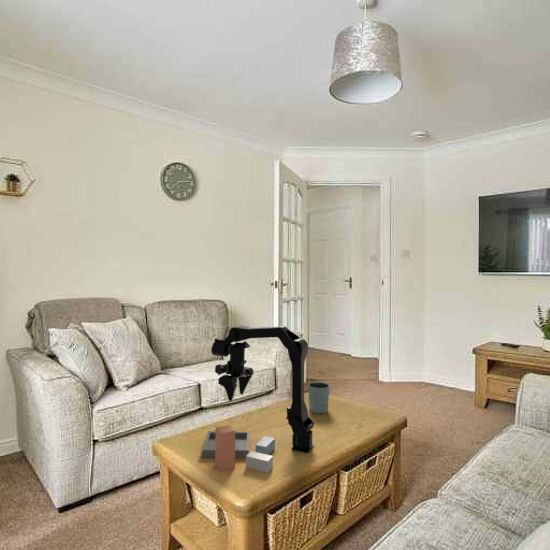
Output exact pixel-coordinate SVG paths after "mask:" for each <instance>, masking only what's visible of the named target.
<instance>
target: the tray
mask: <svg viewBox="0 0 550 550" xmlns="http://www.w3.org/2000/svg"><path fill="white" fill-rule="evenodd" d="M250 434H251V432H250V431H240V430H238V431H236V430H235V459H236V458H238V459H239V458H241V459H246V456H247V455H248V454H249V453H250V442H251V441H250V438H251V436H250ZM215 437H216V430H215V431H212V430H211V431H210V430H209V431H207V435H206V437H205V440H204V443H203V447H202V450H201V456H202V457H208V459H209V458H214V459H215ZM202 457H201V458H202Z"/></svg>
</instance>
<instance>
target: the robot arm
mask: <svg viewBox="0 0 550 550" xmlns="http://www.w3.org/2000/svg"><path fill="white" fill-rule="evenodd" d="M262 338H263V339H265V338H266V339H267V338H278V339H279V341H280V342H281V344H282V345H283V347H285V349H286V350H287V354H288V358H289V361H290V363H291V404H290V405H288V407H286V418H285V419H286V420H287V423H288V425H289V426H290V427H291V430H292V433H293V434H292V436H291V437H292V439H291V440H292V444H291V445H292V447H291V450H293V451H298V452H302V453H303V452H304V453H309V452H310V451H311V450H312V449H313V448H314V443H313V430H312V429H313V428H314V425H315V422H314V421H313V420H312V419H311V417H310V415H309V411H308V406H307V404H306V402H305V362H306V359H307V356H308V350H309V345H308V344H309V343H308V342H307V340H305V339H304V338H302V337H300V336H298V335H297V334H296V333H295V332H293V331H291V330H290V329H289V328H288V327H287V326H286V325H281V326H265V327H251V326H247V325H246V326H245V325H237V326H234V327H231V328H229V330H228V333H227V336H226V337H225V338H224V339H222V338H219V337H217V338H214V342H213V344H212V345H211V347H210V348H211V351H210V352H211V354H212V355H213V356H217V357H218V356H219V357H224V358H225V357H229V360H227V362H226V363H225V364H221V363H220V364H216V365H215V367H214V372H215V373H216V374H217V376H220V375H221V376H220V377H218V381H217V383H218V385H220V386H221V387H223V388H224V390H225V393H226V396H227V399H228V401H229V402H232V401H233V399H234V396H235V392H236V390H237V386H238V388H239V394H240V395H244V393H245V390H246V388H247V386H248V384H249V382H250V381H251V379H252V378H253V376H254V369H253V368H252V367H249V366H248V367H247V366H245V364H246V363H247V360H246V359H245V358H246V355H245V349H248V348H250V347H251V345H250V344H249V343H248V342H247V341H246V340H249V339H262ZM222 374H224V375H222ZM237 382H238V384H237Z"/></svg>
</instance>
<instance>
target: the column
mask: <svg viewBox="0 0 550 550" xmlns="http://www.w3.org/2000/svg"><path fill="white" fill-rule="evenodd" d="M215 431H216V437H215V458H214V465H215V467H216V466H217V467H216V468H217V469H218V471H221V472H225V471H229V470H234V469H235V468H236V467H235V466H236V458H235V431H236V430H235V429H234V427H232V426H231V425H230V424H227V425H223V426H217V427H215Z"/></svg>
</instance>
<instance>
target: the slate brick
mask: <svg viewBox="0 0 550 550" xmlns="http://www.w3.org/2000/svg"><path fill="white" fill-rule="evenodd" d="M275 449H276V438H275V437H272V436H271V437H270V436H266V435H265V436H264V437H262V438H261V439H260V440H259V441H258V442H257V443H256V444H255V452H258V453H262V454H266V455H270V454H271V453H272V452H273V451H274V450H275Z"/></svg>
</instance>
